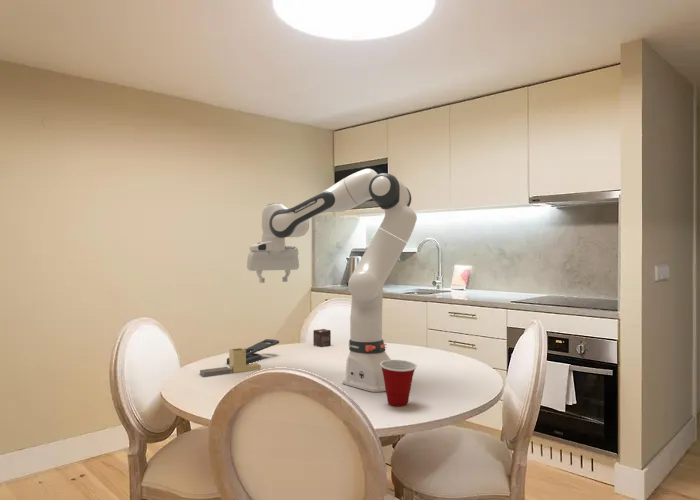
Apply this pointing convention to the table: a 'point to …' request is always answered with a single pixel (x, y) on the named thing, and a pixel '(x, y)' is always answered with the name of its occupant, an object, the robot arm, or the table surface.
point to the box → (322, 337)
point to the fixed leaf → (215, 371)
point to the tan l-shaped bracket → (240, 361)
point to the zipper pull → (252, 350)
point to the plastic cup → (397, 380)
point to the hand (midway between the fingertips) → (273, 282)
